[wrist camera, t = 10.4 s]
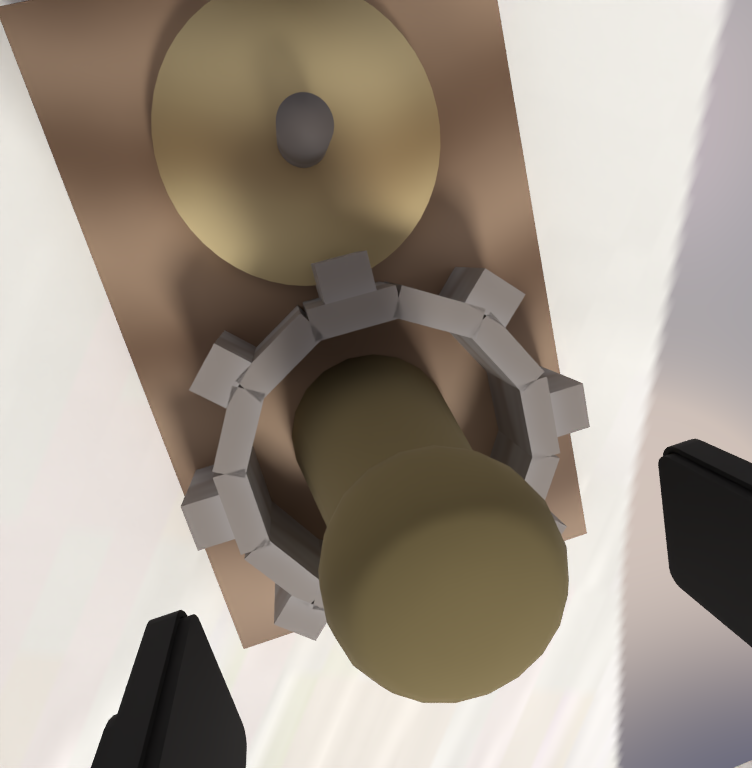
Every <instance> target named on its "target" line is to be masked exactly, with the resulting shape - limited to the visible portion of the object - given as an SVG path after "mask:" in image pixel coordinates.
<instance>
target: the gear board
mask: <svg viewBox="0 0 752 768" xmlns="http://www.w3.org/2000/svg"><path fill="white" fill-rule="evenodd" d="M0 20H1V22H2V25H3V28H4V30H5V33H6V35H7V38H8V40H9V43H10V46H11V48H12V51H13V53H14V56H15V59H16V61H17V64H18V66H19V69H20V72H21V74H22V77H23V79H24V82H25V84H26V87H27V90H28V92H29V95H30V97H31V100H32V103H33V105H34V108H35V110H36V113H37V115H38V118H39V121H40V123H41V126H42V128H43V131H44V134H45V136H46V139H47V141H48V144H49V147H50V149H51V152H52V154H53V157H54V159H55V162H56V165H57V167H58V170H59V172H60V175H61V178H62V180H63V183H64V185H65V188H66V190H67V193H68V196H69V198H70V201H71V203H72V206H73V209H74V211H75V214H76V216H77V219H78V221H79V224H80V227H81V229H82V232H83V234H84V237H85V240H86V242H87V245H88V247H89V250H90V253H91V255H92V258H93V260H94V263H95V265H96V268H97V271H98V273H99V276H100V278H101V281H102V284H103V286H104V289H105V291H106V294H107V296H108V299H109V302H110V304H111V307H112V309H113V312H114V315H115V317H116V320H117V322H118V325H119V327H120V330H121V333H122V335H123V338H124V340H125V343H126V346H127V348H128V351H129V353H130V356H131V359H132V361H133V364H134V366H135V369H136V371H137V374H138V377H139V379H140V382H141V384H142V387H143V390H144V392H145V395H146V397H147V400H148V402H149V405H150V408H151V410H152V413H153V415H154V418H155V421H156V423H157V426H158V428H159V431H160V433H161V436H162V439H163V441H164V444H165V446H166V449H167V452H168V454H169V457H170V459H171V462H172V465H173V467H174V470H175V472H176V475H177V477H178V480H179V483H180V485H181V488H182V490H183V493H184V496H185V498H184V500H183V503H182V505H181V508H182V511H183V513H184V516H185V519H186V521H187V524H188V526H189V529H190V531H191V534H192V536H193V539H194V542H195V544H196V547H197V549H198V550H202V549H205V550H206V552H207V555H208V558H209V560H210V563H211V565H212V568H213V571H214V573H215V576H216V578H217V581H218V583H219V586H220V589H221V591H222V594H223V596H224V599H225V602H226V604H227V607H228V609H229V612H230V614H231V617H232V620H233V622H234V625H235V627H236V630H237V633H238V635H239V638H240V640H241V643H242V646H243V648H244V649H245V648H248V647H251V646H254V645H257V644H260V643H263V642H266V641H269V640H272V639H275V638H278V637H281V636H284V635H287V634H290V633H293V632H295V633H297V634H300V635H302V636H305V637H308V638H310V639H313V640H315V641H316V639H317V638H318V636H319V634H320V633H321V631H322V629H323V628H324V626H325V624H326V623H327V621H326V616H325V611H324V606H323V601H322V596H321V591H320V586H319V573H318V569H319V563H320V556H321V550H322V543H323V537H324V533H325V531H326V528H327V526H326V524H325V521H324V519H323V517H322V515H321V513H320V511H319V508H318V506H317V504H316V502H315V500H314V498H313V495H312V493H311V491H310V489H309V487H308V484H307V482H306V480H305V478H304V476H303V474H302V471H301V469H300V467H299V465H298V463H297V461H296V456H295V451H294V446H293V441H292V431H293V423H294V416H295V411H296V409H297V407H298V405H299V403H300V401H301V399H302V397H303V395H304V393H305V391H306V389H307V388H308V387H309V386H310V385H311V384H312V383H313V382H314V381H315V380H316V379H317V378H318V377H319V376H320V375H321V374H322V373H323V372H324V371H325V370H327V369H329V368H331V367H333V366H335V365H337V364H339V363H341V362H342V361H344V360H346V359H349V358H355V357H360V356H366V355H371V354H375V355H382V356H389V357H397V358H399V359H402V360H404V361H406V362H408V363H410V364H412V365H414V366H416V367H418V368H420V369H421V370H422V371H423V372H424V373H425V374H426V375H427V376H428V377H429V378H430V379H431V380H432V381H433V382H434V383H435V384H436V385H437V387H438V389H439V391H440V393H441V394H442V396H443V398H444V400H445V402H446V403H447V405H448V407H449V409H450V410H451V412H452V414H453V416H454V418H455V419H456V421H457V423H458V425H459V426H460V428H461V430H462V432H463V434H464V435H465V437H466V439H467V441H468V442H469V444H470V446H471V448H472V450H474V451H477V452H480V453H482V454H484V455H486V456H488V457H491V458H493V459H495V460H497V461H499V462H501V463H504V464H506V465H508V466H510V467H511V468H512V469H513V470H514V471H515V472H517V473H518V474H519V475H520V476H521V477H522V478H523V479H524V480H525V481H526V482H527V483H528V484H529V485H530V486H531V487H532V488H533V489H534V490H535V491H536V492H537V493H538V494H539V495H540V496H541V497H542V498H543V499H544V500H545V501H546V503H547V505H548V507H549V509H550V511H551V514H552V516H553V518H554V520H555V522H556V525H557V527H558V529H559V531H560V533H561V536H562V538H563V540H564V541H565V540H568V539H571V538H574V537H577V536H580V535H583V534H586V533H587V532H586V526H585V520H584V514H583V508H582V502H581V496H580V490H579V484H578V478H577V472H576V466H575V460H574V454H573V448H572V442H571V437H570V433H572V432H575V431H579V430H582V429H585V428H588V427H590V426H589V420H588V413H587V407H586V401H585V394H584V388H583V383H580V382H578V381H576V380H573V379H571V378H568V377H566V376H564V375H561V374H560V371H559V365H558V359H557V353H556V347H555V341H554V335H553V329H552V323H551V317H550V311H549V305H548V299H547V293H546V288H545V282H544V276H543V270H542V264H541V258H540V252H539V246H538V240H537V234H536V228H535V222H534V216H533V210H532V204H531V198H530V192H529V186H528V180H527V174H526V168H525V162H524V156H523V150H522V144H521V138H520V133H519V127H518V121H517V115H516V109H515V103H514V97H513V91H512V85H511V79H510V73H509V67H508V61H507V55H506V49H505V43H504V37H503V31H502V25H501V19H500V13H499V7H498V1H497V0H29V1H24V2H19V3H14V4H9V5H4V6H0Z"/></svg>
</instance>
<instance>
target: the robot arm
mask: <svg viewBox="0 0 752 768" xmlns="http://www.w3.org/2000/svg"><path fill="white" fill-rule="evenodd" d="M658 466H659V476H660V485H661V495H662V504H663V513H664V523H665V532H666V542H667V551H668V560H669V569H670V573H671V575H672V577H673V579H674V581H675V582H676V584H677V585H678V586H679V587H680V588H681V589H682V590H683V591H685V592H686V593H687V594H688V595H690V596H691V597H692V598H693V599H694V600H695V601H697V602H698V603H699V604H700V605H702V606H703V607H704V608H705V609H706V610H708V611H709V612H710V613H711V614H712V615H714V616H715V617H716V618H717V619H718V620H720V621H721V622H722V623H723V624H724V625H726V626H727V627H728V628H729V629H730V630H732V631H733V632H734V633H735V634H736V635H738V636H739V637H740V638H741V639H743V640H744V641H745V642H746V643H747V644H749V645H750V646H751V647H752V463H750V462H748V461H746V460H744V459H741V458H739V457H737V456H735V455H732V454H730V453H728V452H726V451H723V450H721V449H719V448H717V447H715V446H712V445H710V444H708V443H706V442H703V441H701V440H698V439H691V440H688V441H685V442H682V443H679V444H676V445H673V446H670V447H667V448H666V449H665V450H664V453H663V457H661V458H660V459H659V464H658ZM246 751H247V743H246V735H245V730H244V726H243V723H242V721H241V719H240V716H239V714H238V711H237V709H236V707H235V704H234V702H233V699H232V697H231V695H230V692H229V690H228V688H227V685H226V683H225V680H224V678H223V676H222V673H221V671H220V668H219V666H218V664H217V661H216V659H215V656H214V654H213V652H212V649H211V647H210V645H209V642H208V640H207V637H206V635H205V633H204V630H203V628H202V625H201V623H200V621H199V619H198V617H197V616H196V615H195V614H193V615H190V616H187V615H186V613H185V612H184V611H183V610H179V611H176V612H173V613H170V614H167V615H164V616H161V617H158V618H155V619H152V620H150V621H149V622H148V624H147V626H146V629H145V632H144V635H143V638H142V641H141V644H140V647H139V650H138V653H137V656H136V659H135V662H134V665H133V668H132V671H131V674H130V677H129V680H128V683H127V686H126V689H125V692H124V695H123V698H122V701H121V704H120V708H119V711H118V714H116V715H114V716H113V717H112V718H110V719H109V720H108V723H107V725H106V727H105V729H104V731H103V734H102V737H101V740H100V743H99V746H98V749H97V752H96V754H95V757H94V760H93V763H92V766H91V768H246ZM735 768H752V761H749V762H747V763H744V764H742V765H740V766H737V767H735Z"/></svg>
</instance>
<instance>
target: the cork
mask: <svg viewBox="0 0 752 768" xmlns="http://www.w3.org/2000/svg"><path fill="white" fill-rule="evenodd" d="M292 441H293V446H294V451H295V456H296V461H297V463H298V465H299V467H300V469H301V471H302V474H303V476H304V478H305V480H306V482H307V484H308V487H309V489H310V491H311V493H312V495H313V498H314V500H315V502H316V504H317V506H318V508H319V511H320V513H321V515H322V517H323V519H324V521H325V524H326V526H327V528H326V531H325V533H324V537H323V543H322V550H321V556H320V563H319V569H318V573H319V586H320V591H321V596H322V601H323V606H324V611H325V616H326V621H327V623H328V625H329V627H330V629H331V631H332V632H333V634H334V636H335V638H336V639H337V641H338V643H339V644H340V646H341V647H342V649H343V650H344V652H345V653H346V655H347V657H348V658H349V660H350V661H351V663H352V664H353V666H355V667H356V668H357V669H359V670H360V671H361V672H363V673H364V674H365V675H367V676H368V677H369V678H371V679H372V680H373V681H375V682H376V683H378V684H379V685H380V686H382V687H384V688H385V689H387V690H388V691H390V692H392V693H394V694H397V695H400V696H403V697H407V698H410V699H413V700H416V701H420V702H423V703H457V702H461V701H464V700H468V699H472V698H476V697H479V696H483V695H487V694H489V693H491V692H493V691H495V690H497V689H498V688H500V687H502V686H504V685H505V684H507V683H509V682H511V681H512V680H514V679H516V678H518V677H519V676H520V675H521V674H522V673H523V672H524V671H525V670H526V669H527V668H528V667H529V666H530V665H532V664H533V663H534V662H535V661H536V660H537V659H538V658H539V657H540V656H541V655H542V654H543V652H544V651H545V649H546V647H547V646H548V644H549V643H550V641H551V639H552V638H553V636H554V634H555V633H556V631H557V629H558V628H559V626H560V623H561V619H562V615H563V611H564V607H565V603H566V600H567V596H568V582H569V578H568V563H567V548H566V545H565V542H564V540H563V538H562V536H561V533H560V531H559V529H558V527H557V525H556V522H555V520H554V518H553V516H552V514H551V511H550V509H549V507H548V505H547V503H546V501H545V500H544V499H543V498H542V497H541V496H540V495H539V494H538V493H537V492H536V491H535V490H534V489H533V488H532V487H531V486H530V485H529V484H528V483H527V482H526V481H525V480H524V479H523V478H522V477H521V476H520V475H519V474H518V473H517V472H515V471H514V470H513V469H512V468H511V467H510V466H508V465H506V464H504V463H501V462H499V461H497V460H495V459H493V458H491V457H488V456H486V455H484V454H482V453H480V452H477V451H474V450H472V448H471V446H470V444H469V442H468V441H467V439H466V437H465V435H464V434H463V432H462V430H461V428H460V426H459V425H458V423H457V421H456V419H455V418H454V416H453V414H452V412H451V410H450V409H449V407H448V405H447V403H446V402H445V400H444V398H443V396H442V394H441V393H440V391H439V389H438V387H437V385H436V384H435V383H434V382H433V381H432V380H431V379H430V378H429V377H428V376H427V375H426V374H425V373H424V372H423V371H422V370H421V369H420V368H418V367H416V366H414V365H412V364H410V363H408V362H406V361H404V360H402V359H399V358H397V357H389V356H382V355H375V354H371V355H366V356H360V357H355V358H349V359H346V360H344V361H342V362H341V363H339V364H337V365H335V366H333V367H331V368H329V369H327V370H325V371H324V372H323V373H322V374H321V375H320V376H319V377H318V378H317V379H316V380H315V381H314V382H313V383H312V384H311V385H310V386H309V387H308V388H307V389H306V391H305V393H304V395H303V397H302V399H301V401H300V403H299V405H298V407H297V409H296V411H295V416H294V423H293V431H292Z"/></svg>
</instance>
